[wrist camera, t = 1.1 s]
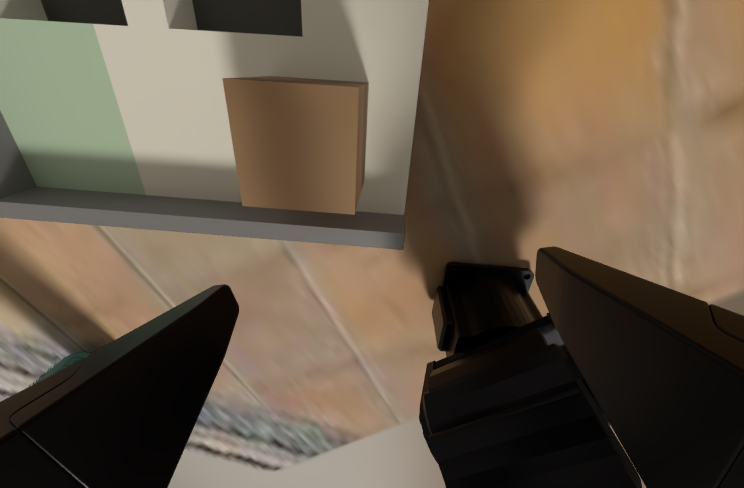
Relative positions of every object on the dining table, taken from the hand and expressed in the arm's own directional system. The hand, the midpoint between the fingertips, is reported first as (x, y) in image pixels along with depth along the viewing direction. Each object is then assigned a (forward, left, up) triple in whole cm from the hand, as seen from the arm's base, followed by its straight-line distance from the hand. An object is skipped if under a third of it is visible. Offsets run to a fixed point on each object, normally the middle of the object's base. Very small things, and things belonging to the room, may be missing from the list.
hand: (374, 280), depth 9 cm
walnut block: (+4, -2, -10) cm, 11 cm away
